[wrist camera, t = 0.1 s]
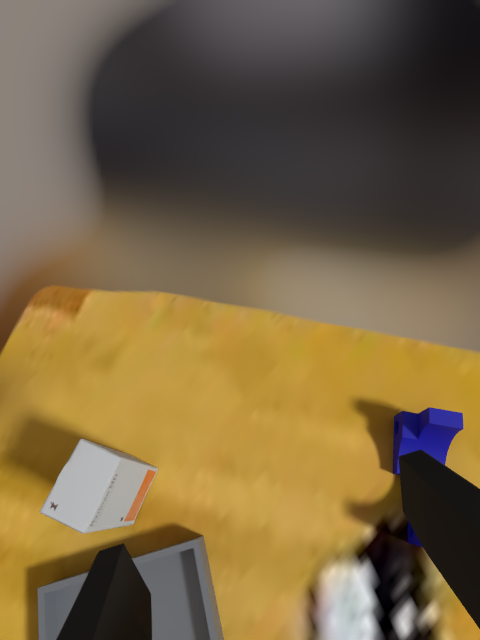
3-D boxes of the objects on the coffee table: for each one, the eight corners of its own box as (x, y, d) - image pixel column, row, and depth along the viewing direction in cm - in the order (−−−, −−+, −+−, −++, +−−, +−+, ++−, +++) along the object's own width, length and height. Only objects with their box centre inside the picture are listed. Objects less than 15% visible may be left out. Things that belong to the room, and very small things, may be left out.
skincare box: (134, 525, 38) (82, 537, 27) (99, 508, 39) (35, 513, 28) (161, 467, 41) (122, 456, 30) (127, 452, 41) (78, 436, 31)
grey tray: (231, 677, 33) (227, 693, 30) (60, 733, 32) (41, 755, 29) (203, 535, 37) (198, 538, 35) (54, 581, 37) (37, 588, 34)
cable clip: (393, 416, 41) (413, 404, 36) (436, 424, 41) (462, 413, 35) (391, 538, 36) (412, 545, 31) (439, 549, 36) (470, 558, 30)
